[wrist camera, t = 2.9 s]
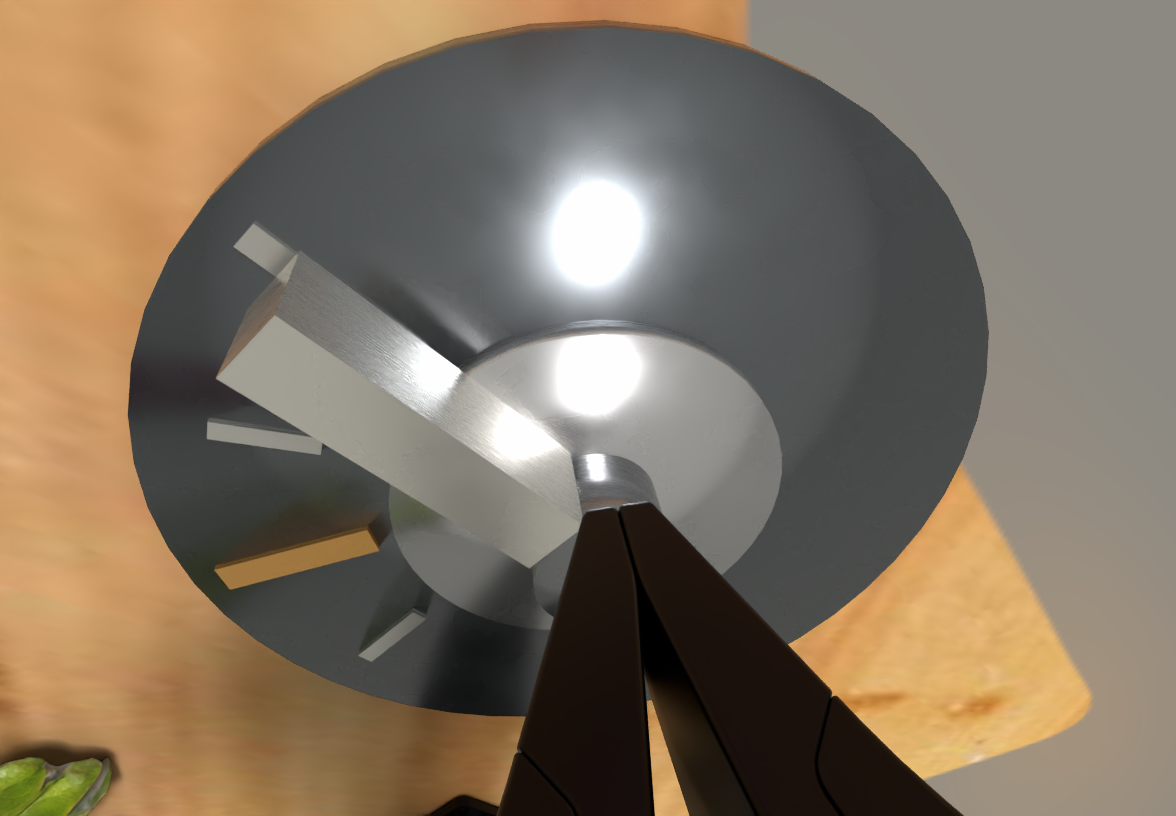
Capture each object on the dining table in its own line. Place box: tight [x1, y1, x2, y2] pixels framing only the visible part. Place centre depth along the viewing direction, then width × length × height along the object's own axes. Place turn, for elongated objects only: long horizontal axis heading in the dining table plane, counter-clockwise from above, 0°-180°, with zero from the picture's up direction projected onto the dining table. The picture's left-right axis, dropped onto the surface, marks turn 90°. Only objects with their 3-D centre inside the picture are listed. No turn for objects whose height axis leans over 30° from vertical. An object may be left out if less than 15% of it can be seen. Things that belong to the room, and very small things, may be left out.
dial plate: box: [128, 20, 989, 716], centre depth 24 cm, size 26×26×1 cm
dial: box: [216, 251, 782, 630], centre depth 21 cm, size 17×12×4 cm
